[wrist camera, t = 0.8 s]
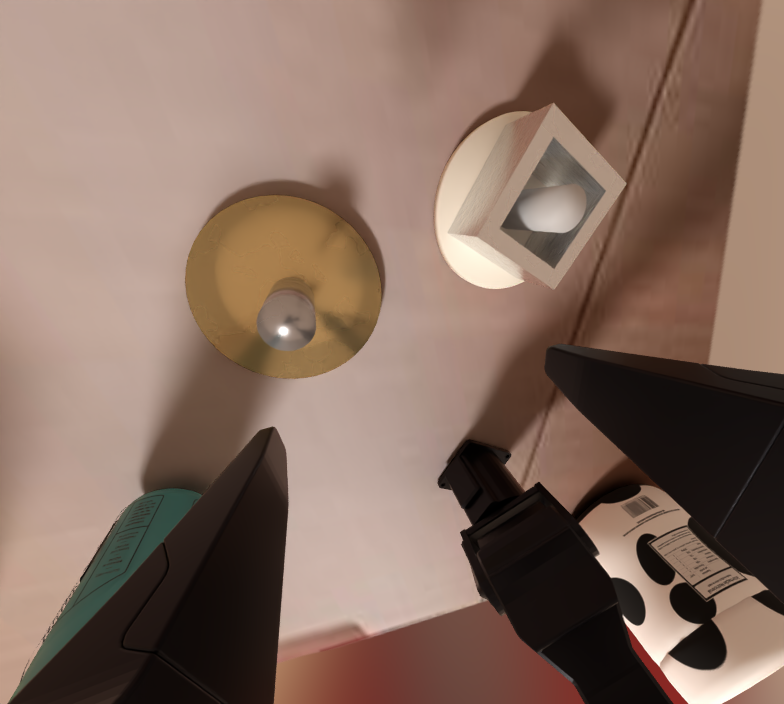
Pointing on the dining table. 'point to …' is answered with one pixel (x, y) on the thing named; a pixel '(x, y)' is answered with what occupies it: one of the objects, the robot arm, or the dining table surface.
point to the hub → (283, 286)
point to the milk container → (686, 595)
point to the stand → (528, 214)
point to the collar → (553, 168)
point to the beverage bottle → (114, 565)
